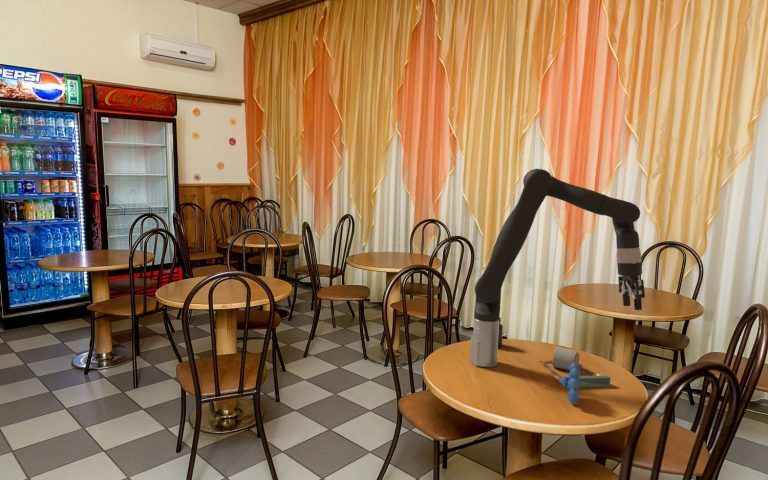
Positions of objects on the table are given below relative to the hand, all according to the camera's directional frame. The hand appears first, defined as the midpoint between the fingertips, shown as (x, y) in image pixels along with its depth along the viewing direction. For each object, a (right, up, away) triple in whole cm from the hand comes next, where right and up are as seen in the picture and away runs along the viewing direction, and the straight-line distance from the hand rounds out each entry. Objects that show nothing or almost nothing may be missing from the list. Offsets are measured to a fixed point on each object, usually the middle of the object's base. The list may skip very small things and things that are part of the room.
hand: (632, 307), depth 168 cm
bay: (-18, -25, +7) cm, 31 cm away
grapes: (-27, -27, -15) cm, 41 cm away
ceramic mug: (-18, -24, +13) cm, 33 cm away
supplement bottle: (-40, -21, +35) cm, 57 cm away
